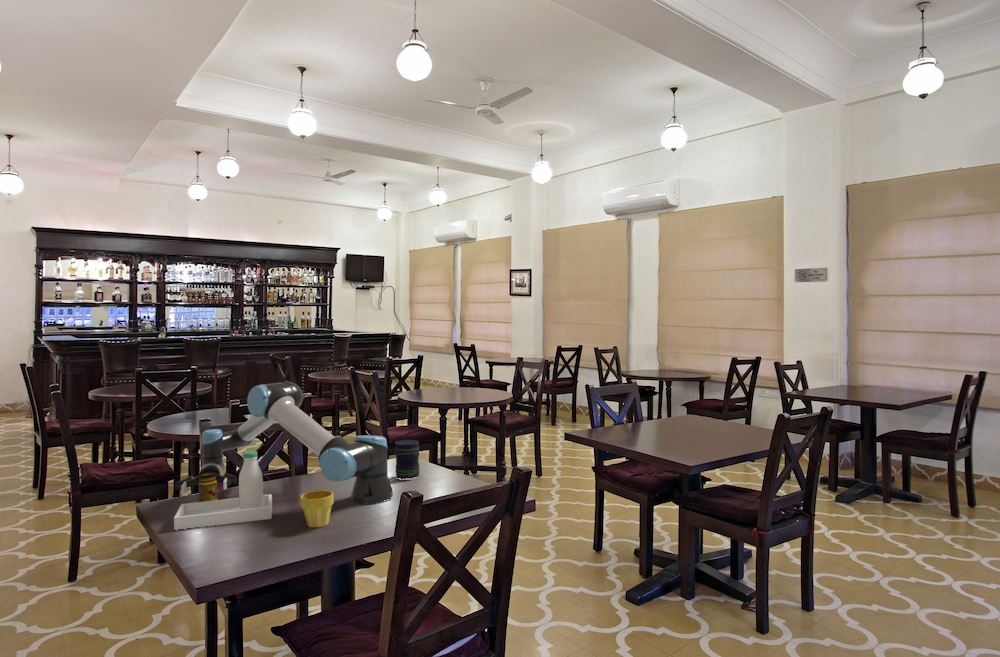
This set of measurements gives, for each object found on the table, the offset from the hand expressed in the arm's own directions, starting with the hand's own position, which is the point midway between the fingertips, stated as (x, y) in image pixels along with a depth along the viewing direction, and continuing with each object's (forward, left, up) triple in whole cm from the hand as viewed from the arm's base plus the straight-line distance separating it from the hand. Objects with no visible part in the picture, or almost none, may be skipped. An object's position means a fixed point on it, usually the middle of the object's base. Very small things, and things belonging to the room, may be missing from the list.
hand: (203, 488), depth 217 cm
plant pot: (-47, -19, -7) cm, 52 cm away
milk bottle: (-19, -9, -6) cm, 22 cm away
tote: (-17, -1, -7) cm, 19 cm away
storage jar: (-21, -73, -7) cm, 77 cm away
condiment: (0, 0, -7) cm, 7 cm away
